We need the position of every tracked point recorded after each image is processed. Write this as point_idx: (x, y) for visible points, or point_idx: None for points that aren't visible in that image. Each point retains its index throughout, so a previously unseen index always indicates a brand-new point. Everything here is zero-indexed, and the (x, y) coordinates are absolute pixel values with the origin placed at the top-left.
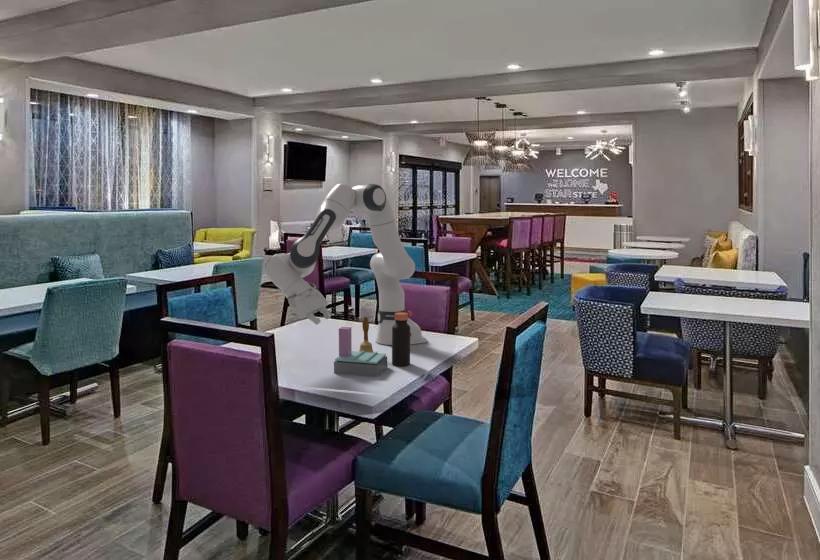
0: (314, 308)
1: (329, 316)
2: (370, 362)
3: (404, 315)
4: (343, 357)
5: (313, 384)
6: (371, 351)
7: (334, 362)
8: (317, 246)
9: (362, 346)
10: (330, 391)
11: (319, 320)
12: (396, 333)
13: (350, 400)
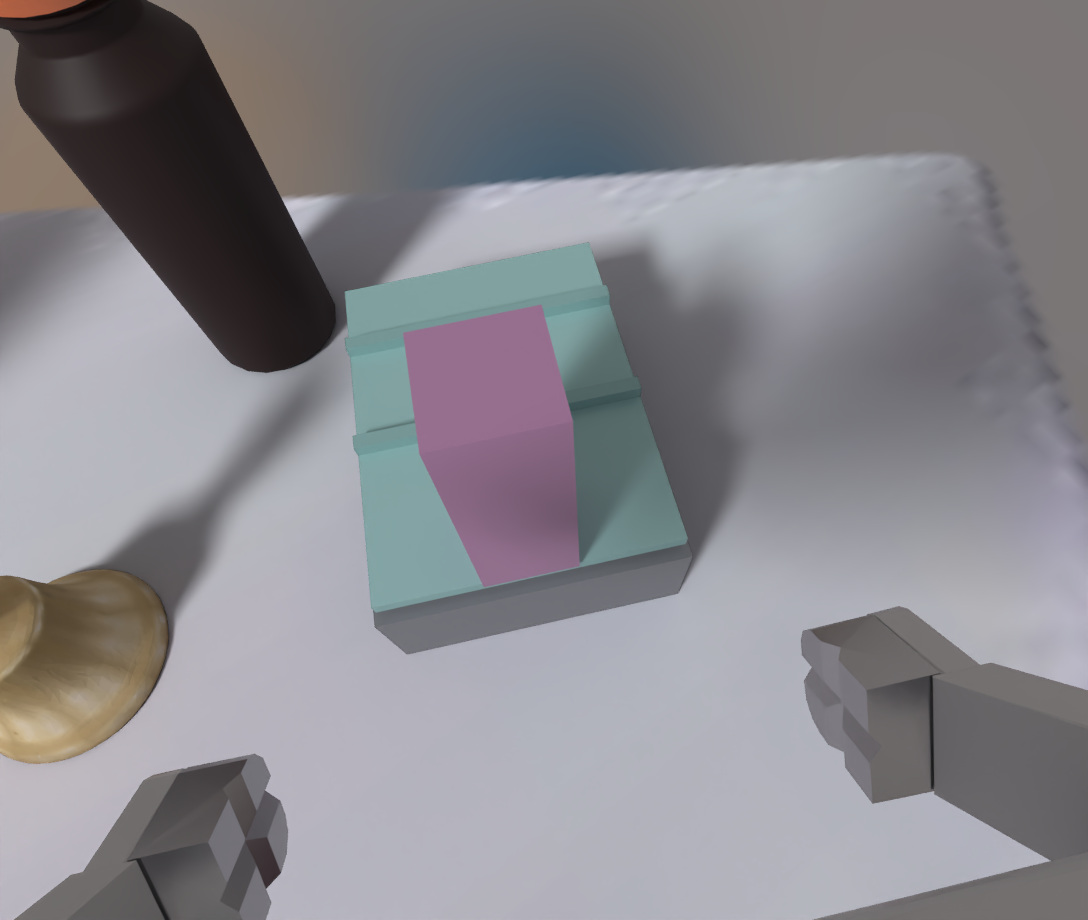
0: (987, 915)
1: (240, 757)
2: (600, 279)
3: None
4: (602, 501)
5: (962, 594)
6: (62, 585)
7: (689, 553)
8: None
9: (47, 642)
10: (979, 411)
11: (862, 625)
12: (220, 109)
13: (1002, 252)
